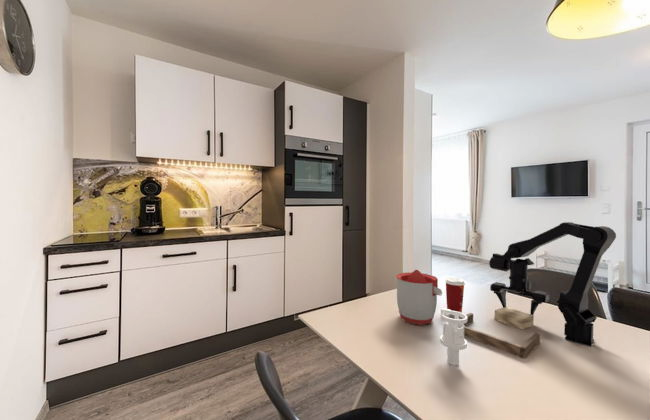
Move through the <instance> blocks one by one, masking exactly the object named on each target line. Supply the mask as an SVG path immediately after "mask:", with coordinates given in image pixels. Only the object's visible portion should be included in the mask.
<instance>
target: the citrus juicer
mask: <svg viewBox="0 0 650 420" xmlns="http://www.w3.org/2000/svg"><path fill="white" fill-rule="evenodd" d="M438 282H439V280H438V278H437V277H436V276H434V275H431V274H427V273H421V271H419V270H418V269H415V270H414V271H412V272H401V273H398V274H396V302H397V308H398V312H399V316H400V317H401V319H402V320H403V321H404V320H405V321H404V322H406V323H409V324H411V325H420V326H424V325H429V324H431V323H432V321H433V319H434V317H435V313H436V309H437V304H438V302H437V301H438V296H440V297H441V296H443V291H442V289H441V288H439V287H438V284H439V283H438Z"/></svg>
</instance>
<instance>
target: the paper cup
mask: <svg viewBox="0 0 650 420" xmlns="http://www.w3.org/2000/svg"><path fill="white" fill-rule="evenodd" d="M444 283H445V290H446V291H445V295H446V297H445V299H446V309H450V310H452V311H457V312H461V313H463V304H464V303H463V302H464V291H465V285H466V283H465V280H464V279H462V278H458V277H446V278H445V281H444Z"/></svg>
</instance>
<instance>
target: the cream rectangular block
mask: <svg viewBox="0 0 650 420" xmlns="http://www.w3.org/2000/svg"><path fill="white" fill-rule="evenodd" d="M534 315H535V314H534ZM534 315H531V314H530V313H528V312H525V311H522V310H518V309H515V308H511V307H508V306H506V307H504V308H503V307H501V308H498V309H494V320H495V319H496V320H495V321H498V320H499V322H501V323H503V322H504V324H506V323H507V324H506V325H508V326H511V327H515V328H518V329H520V330H524V329H526V328H529V327H532V326H534V323H535V322H534V318H535V317H534Z"/></svg>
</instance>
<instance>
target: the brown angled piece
mask: <svg viewBox="0 0 650 420" xmlns="http://www.w3.org/2000/svg"><path fill="white" fill-rule="evenodd" d="M465 315H466V316H467V323H465V324H463V325H464V337H466V338H468V339H471V340H473V341H477V342H479V343H482V344H484V345H487V346H490V347H493V348H495V349H498V350H501V351H503V352H505V353H509V354H511V355H513V356H517V357H519V358H522V359H524V360H525V359H526V358H527V357H528V356H529V355H530V354H531V353H532V351H534V350H535V348H537V346H538V345H539V344H540V342H541V333H538V332H534V333H533V334H532V335H531V336H530V337H529V338H528V339H526V341H525V342H524V343H522V345H521V344H517V343H515V342H512V341H508V340H507V339H504V338H500V337H497V336H494V335H493V334H492V335H491V334H489V333H486V332H483V331H480V330H477V329H474V328H472V327H468V325H469V324H471V323H473V322H474V313H472V312H469V313H467V314H465ZM459 319H464V318H462V317H459ZM472 321H473V322H472ZM467 324H468V325H467Z"/></svg>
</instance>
